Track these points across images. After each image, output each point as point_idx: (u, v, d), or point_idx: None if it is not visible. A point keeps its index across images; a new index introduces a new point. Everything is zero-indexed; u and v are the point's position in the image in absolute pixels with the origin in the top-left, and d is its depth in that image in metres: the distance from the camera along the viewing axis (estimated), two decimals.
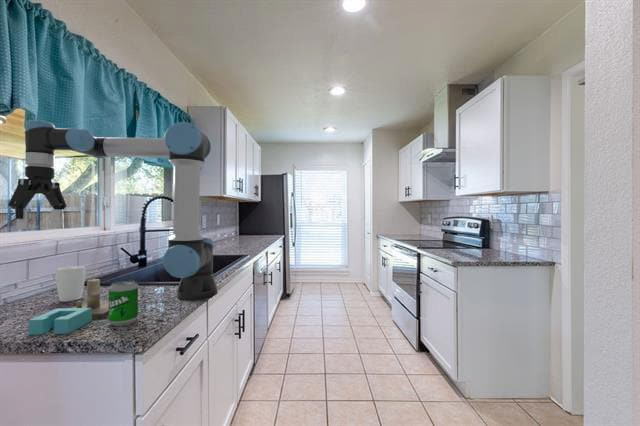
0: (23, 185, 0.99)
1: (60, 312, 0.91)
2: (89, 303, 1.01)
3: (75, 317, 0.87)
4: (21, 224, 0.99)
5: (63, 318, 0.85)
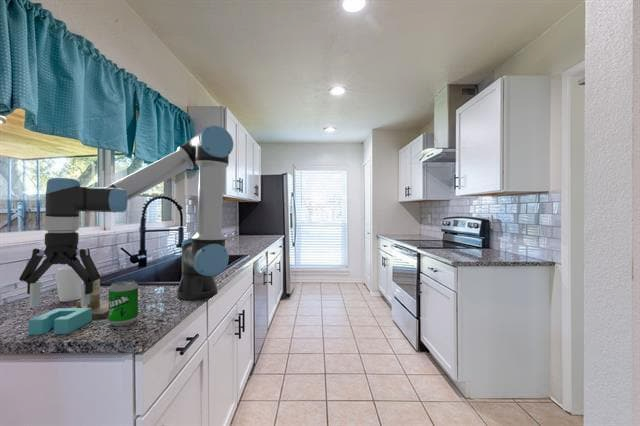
0: None
1: (60, 312, 0.91)
2: None
3: (75, 317, 0.87)
4: None
5: (63, 318, 0.85)
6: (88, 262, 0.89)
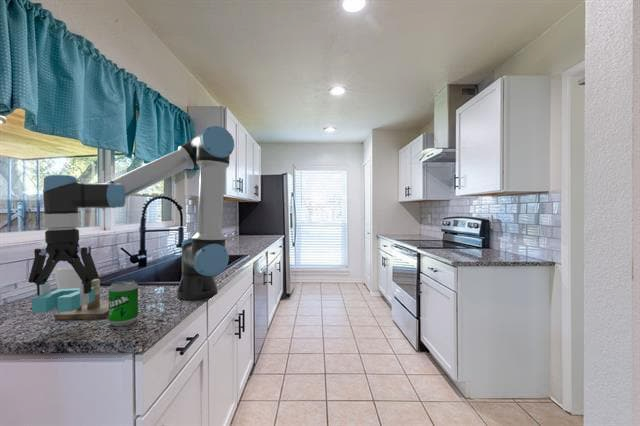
0: None
1: (63, 292, 0.92)
2: (89, 303, 1.01)
3: (78, 295, 0.88)
4: None
5: (66, 296, 0.85)
6: (88, 261, 0.89)
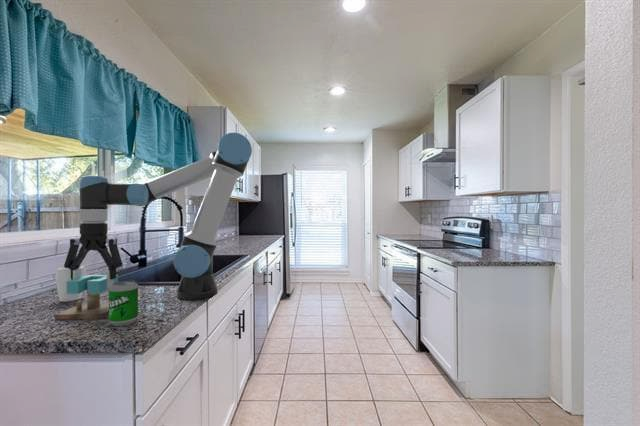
0: None
1: (92, 277, 1.05)
2: (89, 303, 1.01)
3: (105, 280, 1.01)
4: None
5: (95, 280, 0.99)
6: (114, 251, 1.02)
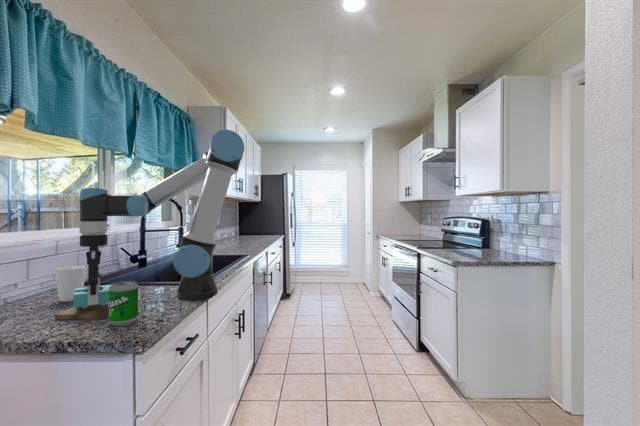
0: None
1: (103, 288, 1.06)
2: None
3: (85, 295, 0.98)
4: None
5: (76, 293, 0.98)
6: (90, 265, 0.96)
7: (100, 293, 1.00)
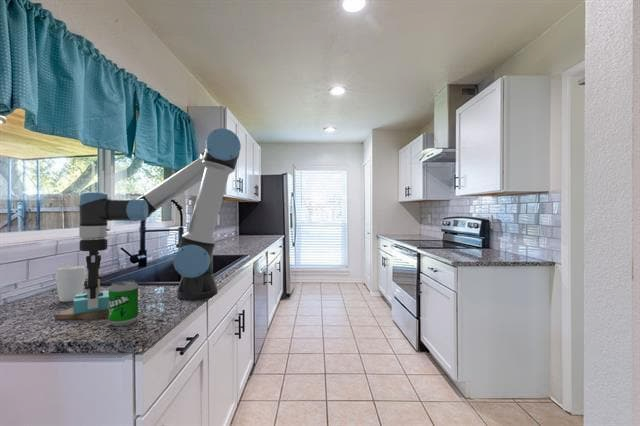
0: None
1: (103, 294, 1.06)
2: None
3: (85, 301, 0.97)
4: None
5: (76, 299, 0.98)
6: (90, 269, 0.96)
7: (100, 299, 1.00)
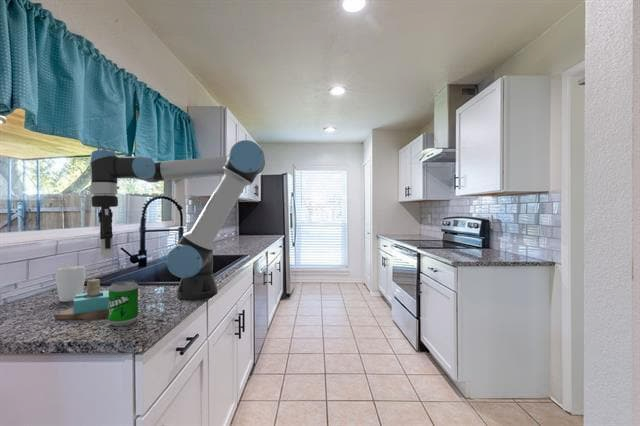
0: None
1: (103, 294, 1.06)
2: None
3: (85, 301, 0.97)
4: None
5: (76, 299, 0.98)
6: (104, 220, 1.00)
7: (100, 299, 1.00)
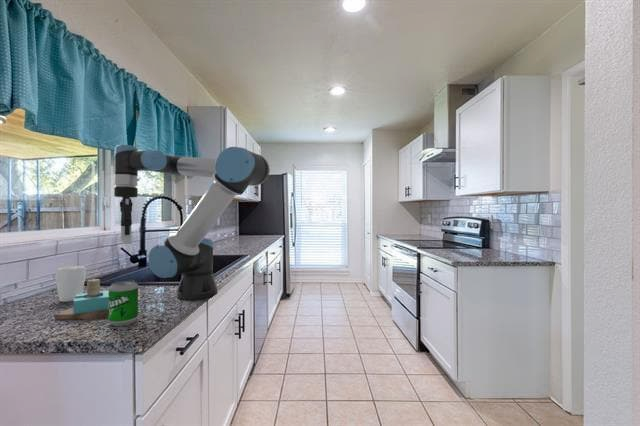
0: None
1: (103, 294, 1.06)
2: None
3: (85, 301, 0.97)
4: None
5: (76, 299, 0.98)
6: (124, 209, 1.10)
7: (100, 299, 1.00)
